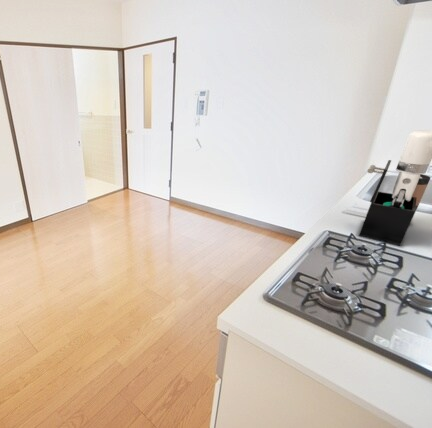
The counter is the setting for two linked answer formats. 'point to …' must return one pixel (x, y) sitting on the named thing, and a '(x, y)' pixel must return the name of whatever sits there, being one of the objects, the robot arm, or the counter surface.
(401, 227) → the black flip-top box
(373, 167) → the black hinged box lid
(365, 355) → the counter surface
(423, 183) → the travel mug
